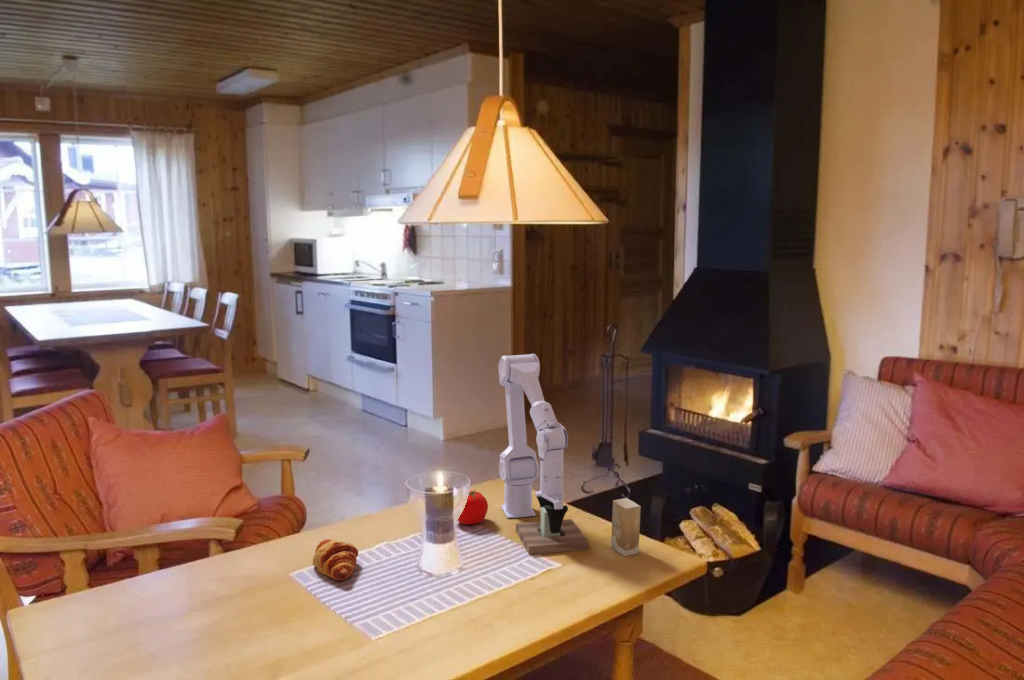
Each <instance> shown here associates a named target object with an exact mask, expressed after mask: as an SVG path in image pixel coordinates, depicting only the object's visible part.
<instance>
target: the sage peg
mask: <svg viewBox="0 0 1024 680" xmlns="http://www.w3.org/2000/svg"><path fill="white" fill-rule="evenodd" d="M540 521H541V536H542V538H546V537H558V536H560V532H559V533H551V531H550V526H549V519H548V515H547V512H546V510H545V508H544V507H541V508H540Z"/></svg>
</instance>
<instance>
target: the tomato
mask: <svg viewBox="0 0 1024 680" xmlns="http://www.w3.org/2000/svg"><path fill="white" fill-rule="evenodd" d="M488 509H489V503H488V500H487V498H486V497H485V496H484V495H483V494H482V493H481V492H479V491H476V490H470V491H469V496H468V499H467V503H466V505H465V508H464V510H463V512H462V514H461V515H460V517H459V519H458V521H457V522H459V523H461V524H463V525H469V526H470V525H471V526H472V525H478V524H480V523H482V522H483V521H484V519H485V518H486V516H487V514H488Z"/></svg>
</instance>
